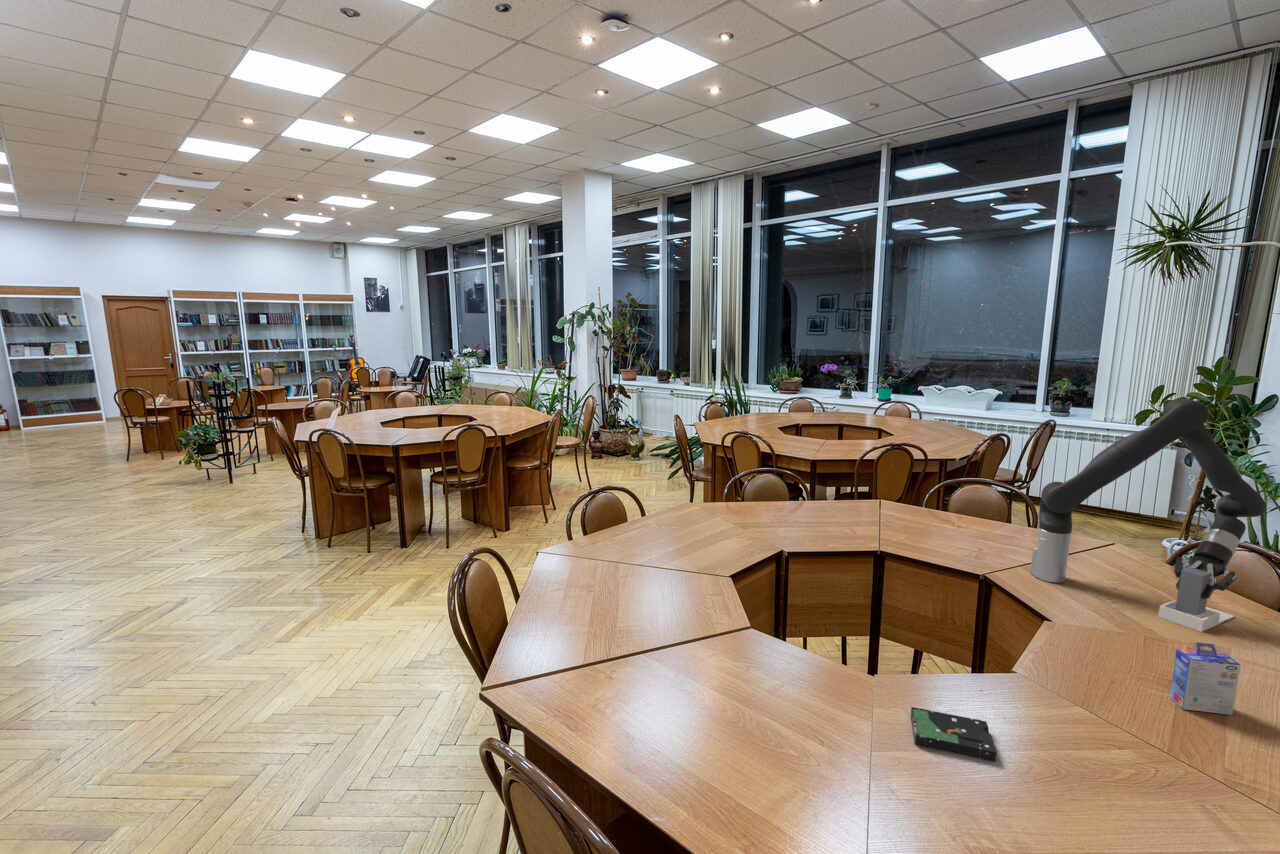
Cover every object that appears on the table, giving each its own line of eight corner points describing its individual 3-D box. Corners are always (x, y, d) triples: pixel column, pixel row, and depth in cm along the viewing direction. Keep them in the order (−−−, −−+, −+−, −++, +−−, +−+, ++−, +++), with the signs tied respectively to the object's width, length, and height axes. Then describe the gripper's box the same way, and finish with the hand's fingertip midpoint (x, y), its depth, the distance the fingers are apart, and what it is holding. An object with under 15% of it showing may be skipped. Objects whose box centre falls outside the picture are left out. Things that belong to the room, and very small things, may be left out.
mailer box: (1158, 616, 181) (1160, 605, 181) (1191, 603, 190) (1193, 592, 190) (1201, 631, 172) (1203, 620, 172) (1234, 617, 181) (1236, 606, 181)
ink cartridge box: (1216, 701, 140) (1226, 643, 138) (1234, 716, 135) (1245, 655, 132) (1167, 695, 142) (1176, 638, 139) (1182, 710, 136) (1193, 650, 134)
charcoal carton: (1175, 608, 179) (1181, 569, 178) (1183, 605, 182) (1189, 567, 180) (1196, 615, 175) (1203, 576, 173) (1205, 612, 177) (1211, 573, 175)
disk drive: (984, 732, 129) (909, 717, 134) (986, 720, 129) (910, 705, 133) (996, 765, 119) (914, 747, 124) (997, 752, 119) (915, 735, 124)
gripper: (1183, 533, 185) (1158, 578, 182) (1246, 548, 172) (1219, 596, 169) (1189, 547, 188) (1164, 591, 185) (1251, 563, 176) (1225, 610, 172)
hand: (1191, 593), depth 177 cm, fingers closed on charcoal carton, 5 cm apart
